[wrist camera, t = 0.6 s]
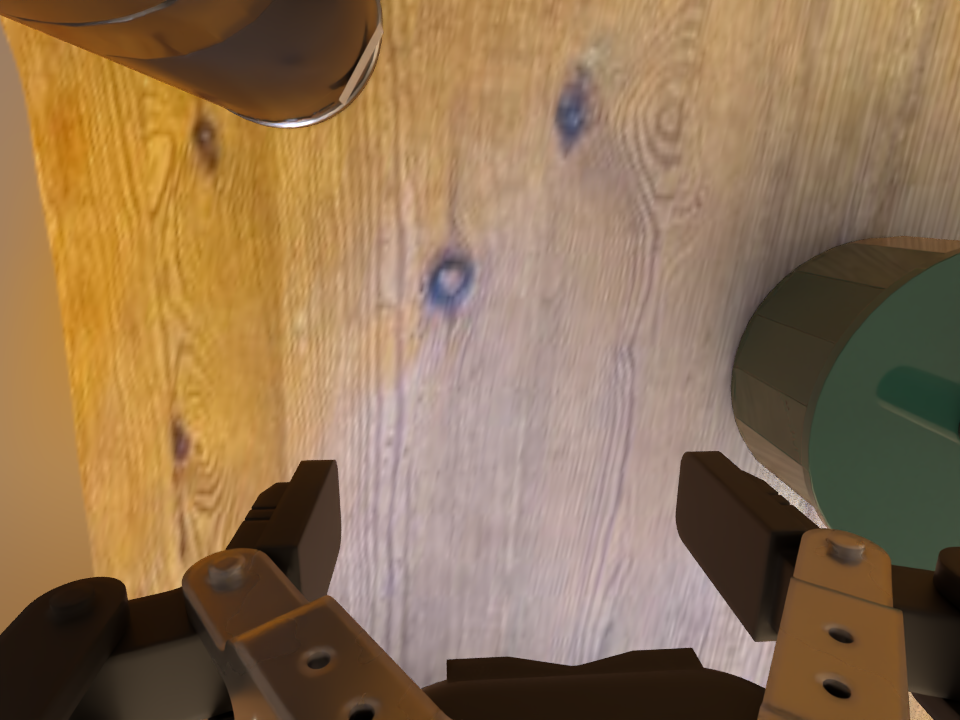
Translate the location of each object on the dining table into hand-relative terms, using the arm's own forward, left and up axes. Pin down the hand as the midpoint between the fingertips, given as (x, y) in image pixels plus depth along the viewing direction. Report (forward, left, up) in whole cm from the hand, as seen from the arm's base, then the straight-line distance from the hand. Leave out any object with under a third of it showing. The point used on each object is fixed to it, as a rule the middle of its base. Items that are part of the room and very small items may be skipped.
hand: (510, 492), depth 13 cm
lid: (+6, +22, -11) cm, 25 cm away
